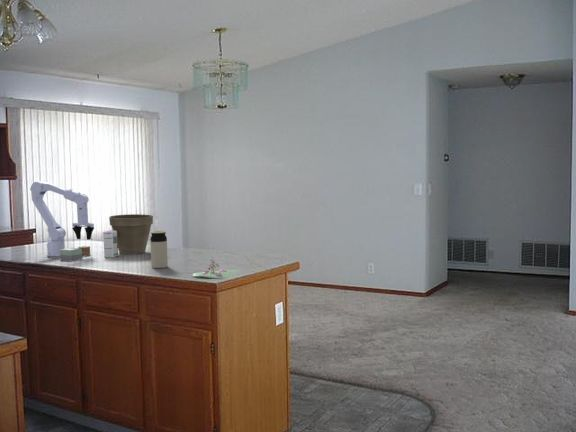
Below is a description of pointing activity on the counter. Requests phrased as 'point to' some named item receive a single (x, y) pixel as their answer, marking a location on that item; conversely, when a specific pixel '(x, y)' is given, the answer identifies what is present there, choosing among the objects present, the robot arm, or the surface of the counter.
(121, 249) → the plant pot
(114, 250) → the syrup box
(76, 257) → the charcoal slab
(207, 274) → the plant
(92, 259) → the counter surface
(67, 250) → the sage slab
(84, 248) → the walnut block
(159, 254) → the travel mug
